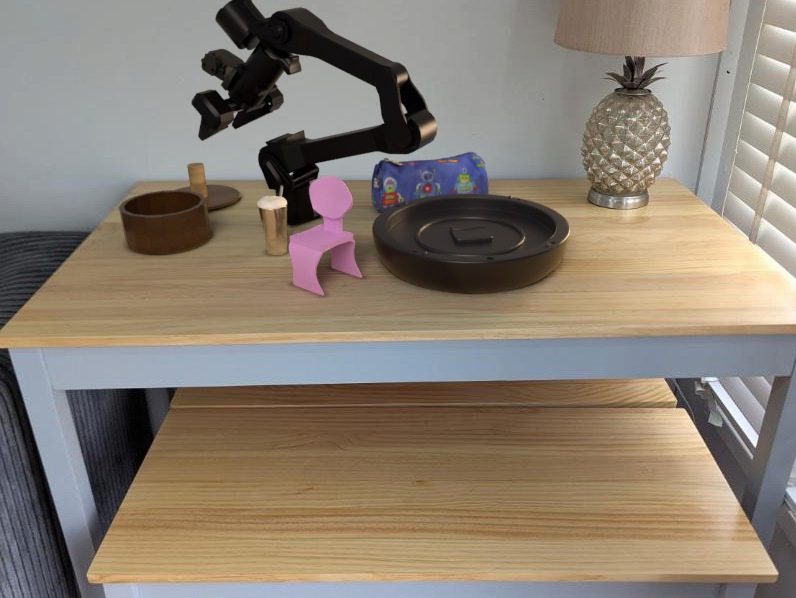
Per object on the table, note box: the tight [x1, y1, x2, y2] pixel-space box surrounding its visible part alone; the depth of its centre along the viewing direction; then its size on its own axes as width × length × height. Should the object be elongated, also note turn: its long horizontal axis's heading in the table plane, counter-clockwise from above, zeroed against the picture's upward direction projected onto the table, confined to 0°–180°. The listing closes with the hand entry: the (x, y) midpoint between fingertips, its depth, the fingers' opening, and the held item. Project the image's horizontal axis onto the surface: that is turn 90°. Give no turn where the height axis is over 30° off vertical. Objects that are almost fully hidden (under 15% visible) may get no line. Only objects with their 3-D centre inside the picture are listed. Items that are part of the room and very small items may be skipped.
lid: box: [175, 162, 240, 211], centre depth 146 cm, size 15×15×7 cm
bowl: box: [118, 189, 212, 256], centre depth 129 cm, size 14×14×6 cm
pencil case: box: [370, 151, 490, 213], centre depth 140 cm, size 22×9×10 cm, turn 104°
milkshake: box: [257, 185, 288, 256], centre depth 123 cm, size 5×5×10 cm
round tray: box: [371, 193, 571, 294], centre depth 120 cm, size 30×6×30 cm
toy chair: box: [288, 175, 364, 296], centre depth 110 cm, size 8×9×15 cm
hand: (217, 132), depth 138 cm, fingers open, 9 cm apart
